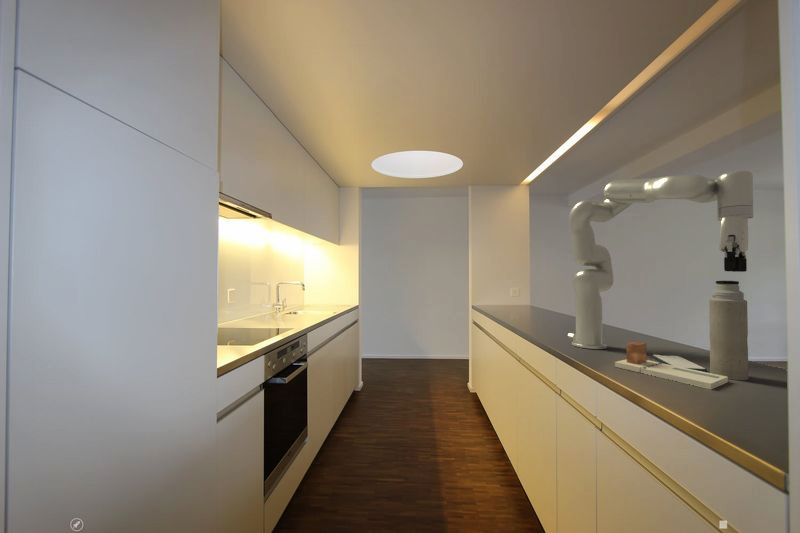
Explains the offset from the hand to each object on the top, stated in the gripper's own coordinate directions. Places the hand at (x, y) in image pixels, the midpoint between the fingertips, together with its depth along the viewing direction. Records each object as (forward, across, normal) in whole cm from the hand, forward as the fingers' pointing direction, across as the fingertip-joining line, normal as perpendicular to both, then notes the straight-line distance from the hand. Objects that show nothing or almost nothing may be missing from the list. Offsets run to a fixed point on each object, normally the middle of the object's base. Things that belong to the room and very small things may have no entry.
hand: (735, 271), depth 98 cm
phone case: (+32, -1, -14) cm, 35 cm away
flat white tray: (+31, +16, -9) cm, 36 cm away
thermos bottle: (+31, +2, -1) cm, 31 cm away
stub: (+31, +14, -21) cm, 40 cm away
